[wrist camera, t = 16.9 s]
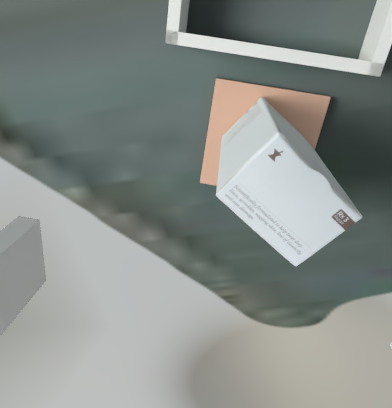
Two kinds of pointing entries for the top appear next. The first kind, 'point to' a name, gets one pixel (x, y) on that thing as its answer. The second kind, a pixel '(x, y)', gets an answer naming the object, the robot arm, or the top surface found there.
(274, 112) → the skincare box
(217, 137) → the tile
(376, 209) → the top surface
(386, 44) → the bin
